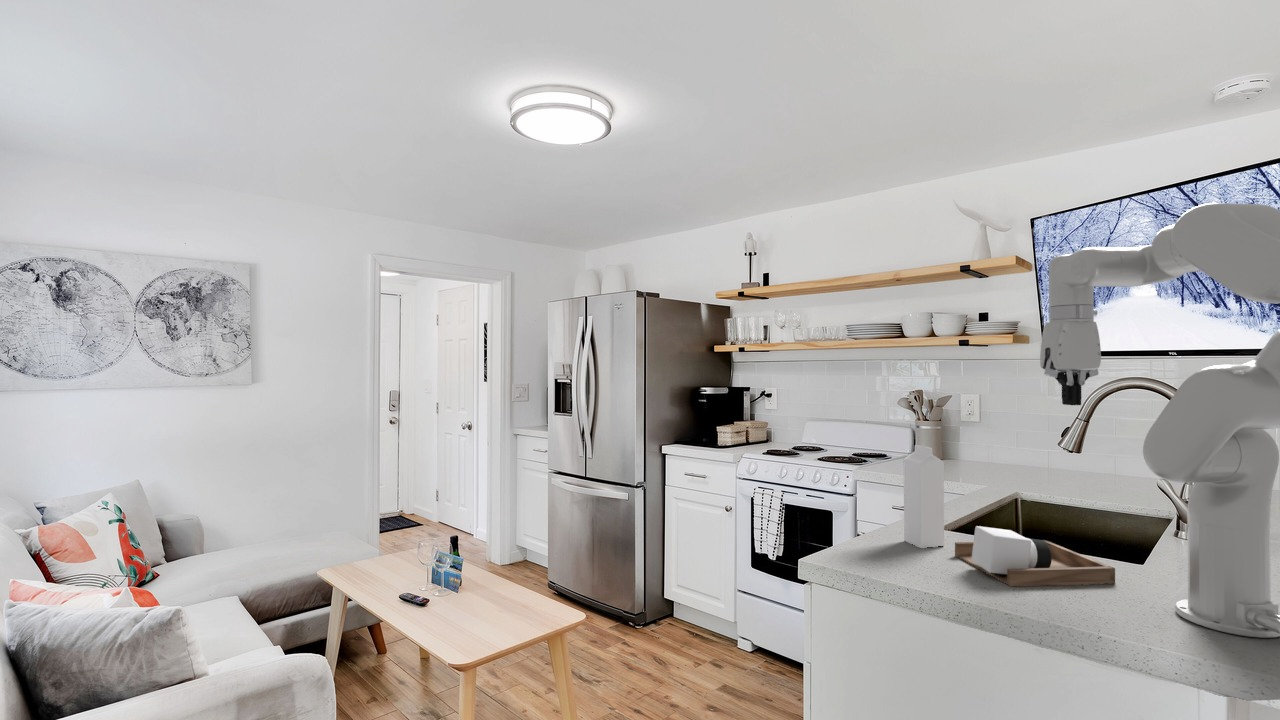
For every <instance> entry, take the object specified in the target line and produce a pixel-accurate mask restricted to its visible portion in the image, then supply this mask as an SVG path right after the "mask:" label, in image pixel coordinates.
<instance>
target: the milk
mask: <svg viewBox="0 0 1280 720" xmlns="http://www.w3.org/2000/svg"><path fill="white" fill-rule="evenodd" d="M944 465H945V462H944V460H942V459H940V458H939V457H937V456H935V455H933V448H932V447H929V446H925V445H920V444H915V445H914V451H913V452H912V453H910V454H909V455H907V456H905V457H904V458H903V541H904V542H905V541H906V543H907V544H910V545H912V544H913V546H914V545H915V547H917V548H919V549H928V548H927V547H933V548H939V547H938V546H944V547H945V469H944V468H945V466H944Z"/></svg>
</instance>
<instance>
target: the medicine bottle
mask: <svg viewBox="0 0 1280 720" xmlns="http://www.w3.org/2000/svg"><path fill="white" fill-rule="evenodd" d="M973 536H974V537H973V542H974V543H973V551H972V559H971V560H972V561H973V562H974V563H976V564H977V565H979V566H980V567H982V568H983V569H985V570H986V571H988V572H989V573H995V574H1003V575H1007V569H1028V568H1049V567H1050V565H1051V561H1052V555H1051V550H1050V548H1049V546H1048V545H1047V544H1046V543H1045V542H1044V541H1043V540H1044V539H1035V538H1029V537H1025V536H1023V535H1021V534H1019V533H1017V532H1016V531H1013V530H1012V529H1003V528H996V527H988V526H981V525H979V526H978V525H976V526H975V528H974V534H973Z"/></svg>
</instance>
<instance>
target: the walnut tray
mask: <svg viewBox="0 0 1280 720" xmlns="http://www.w3.org/2000/svg"><path fill="white" fill-rule="evenodd" d="M1042 540H1043V541H1044V542H1045V543H1046V544H1047V545H1048V546H1049V548H1050V550H1051V555H1052V561H1051V565H1050V567H1049V568H1028V569H1007V575H1003V574H995V573H989V572H988V571H986V570H985V569H983V568H982V567H980V566H979V565H977V564H976V563H974V562H973V561H972V560H971V559H972V551H973V543H974V541H960V542H959V541H958V542H956V541H955V542H954V557H956V556H957V557H956V558H958V557H959V558H961V559H963V560H964V561H963V560H962V561H963V562H965V561H966V562H965V563H967V562H968V563H967V564H969V563H970V564H972V565H974V566H975V567H974V566H973V567H974V568H976V567H977V568H976V569H978V570H979V569H980V571H981V570H982V571H981V572H983V571H984V573H985V572H986V573H985V574H987V573H988V574H990V575H992V576H993V578H994V577H995V578H994V579H996V578H997V579H996V580H998V579H999V580H1001V581H1002V582H1001V581H1000V582H1001V583H1003V582H1004V583H1003V584H1005V583H1006V584H1005V585H1007V584H1008V585H1010V586H1021V587H1039V586H1038V585H1057V586H1082V585H1081V584H1083V586H1085V585H1086V586H1087V585H1089V586H1090V584H1094V585H1101V584H1100V583H1109V584H1108V585H1111V584H1110V583H1115V584H1116V567H1113V566H1111V565H1108V564H1106V563H1103V562H1101V561H1099V560H1096V559H1094V558H1091V557H1089V556H1086V555H1083V554H1081V553H1078V552H1076V551H1073V550H1071V549H1069V548H1065V547H1064V546H1061V545H1059V544H1056V543H1054V542H1052V541H1049V540H1046V539H1042ZM959 558H958V559H959ZM961 559H960V560H961ZM970 564H969V565H970ZM972 565H971V566H972ZM988 574H987V575H988ZM990 575H989V576H990ZM992 576H991V577H992ZM999 580H998V581H999ZM1008 585H1007V586H1008ZM1010 586H1009V587H1010Z"/></svg>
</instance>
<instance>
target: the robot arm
mask: <svg viewBox="0 0 1280 720" xmlns="http://www.w3.org/2000/svg"><path fill="white" fill-rule="evenodd" d="M1199 271H1200V272H1202V273H1203V274H1205V275H1207V276H1208V277H1210V278H1211V279H1213V280H1214V281H1216V282H1217V283H1219V284H1220V285H1222V286H1224V288H1226V289H1228V290H1229V291H1231V292H1232V293H1233V294H1236V295H1238V296H1240V297H1241V298H1244V299H1247V300H1249V301H1253V302H1257V303H1263V304H1280V210H1279V209H1278V208H1275V207H1273V206H1269V205H1266V204H1258V203H1235V202H1233V203H1232V202H1225V203H1224V202H1212V203H1211V202H1209V203H1204V204H1200V205H1198V206H1195V207H1192V208H1190V209H1188V210H1187V211H1186V212H1184V213H1183V214H1182V215H1180V217H1179V218H1178V219H1177V220H1176V222H1175V223H1174V224H1172V225H1168V226H1165V227H1164V228H1162V229H1160V231H1158V232H1157V233H1156V235H1154V237H1153V240H1152V243H1151V244H1149V245H1145V246H1139V247H1122V246H1121V247H1114V246H1113V247H1110V246H1108V247H1107V246H1106V247H1104V246H1097V247H1096V246H1095V247H1094V246H1092V247H1085V248H1082V249H1079V250H1077V251H1075V252H1072V253H1069V254H1062V255H1058V256H1055V257H1053V258H1052V259H1050V261H1049V263H1048V307H1049V308H1048V310H1049V311H1048V315H1049V317H1048V318H1049V319H1048V320H1049V321H1048V322H1045V324H1044V326H1043V331H1042V336H1041V342H1040V344H1041V345H1040V355H1039V359H1040V360H1039V363H1040V367H1041V369H1042V370H1044V375H1045V376H1047V377H1051V378H1054V379H1055V380H1056V381H1057V382H1058V385H1060V386H1061V400H1062V402H1061V403H1062V405H1064V406H1081V405H1082V387H1083V386H1084V385H1085V384H1086V381H1087V380H1088V379H1089V378H1092V377H1096V376H1098V375H1099V370H1098V369H1099V368H1100V367H1101V362H1102V361H1101V360H1102V354H1101V353H1102V352H1101V350H1102V349H1101V339H1100V332H1099V329H1098V325H1097V321H1094V320H1095V319H1094V317H1096V316H1098V310H1097V309H1094V308H1095V307H1094V295H1095V294H1094V287H1099V288H1100V287H1111V288H1113V287H1118V288H1119V287H1121V288H1130V287H1132V288H1133V287H1141V286H1148V285H1151V284H1152V285H1153V284H1158V283H1163V282H1168V281H1173V280H1176V279H1177V278H1180V277H1182V276H1184V275H1185V274H1191V273H1194V272H1199ZM1270 429H1271V430H1273V429H1280V328H1279V329H1277V331H1276V332H1275V333H1273V335H1272V336H1271V337H1270V338H1269V339H1268V341H1267V343H1266V344H1265V346H1264V347H1263V348H1262V349H1261V350H1260V351H1259V353H1257V355H1256V356H1255V357H1254V358H1253V359H1251V360H1250V361H1248V362H1246V363H1242V364H1218V365H1212V366H1208V367H1205V368H1201V369H1200V370H1198V371H1196V372H1194V373H1193V374H1192V375H1190V376H1188V377H1187V378H1186V379H1185V380H1184V381H1183V382H1182V383H1181V385H1180V386H1179V387H1178V388H1177V390H1176V391H1175V393H1174V394H1173V395H1172V397H1171V398H1170V400H1169V401H1168V403H1166V405H1165V407H1164V408H1163V410H1162V411H1161V413H1159V415H1158V417H1157V418H1156V420H1155V421H1154V423H1153V424H1152V425H1151V427H1150V428H1149V430H1148V432H1147V433H1146V436H1145V439H1144V441H1143V446H1142V453H1143V455H1142V456H1143V459H1144V462H1145V464H1146V466H1147V468H1148V469H1149V470H1150V471H1151V473H1152V474H1154V475H1156V476H1158V478H1161V479H1162V480H1163V479H1164V480H1166V481H1169V482H1174V483H1181V484H1183V483H1185V484H1193V487H1192V488H1191V491H1190V493H1189V497H1188V502H1187V599H1186V598H1185V599H1180V600H1179V601H1176V602H1175V607H1174V608H1175V612H1176V613H1177V614H1178V616H1180V617H1182V618H1183V619H1184V620H1187V621H1189V622H1192V623H1193V624H1196V625H1199V626H1200V627H1201V626H1202V627H1205V628H1207V629H1211V630H1215V631H1219V632H1223V633H1227V634H1232V635H1236V636H1242V637H1243V636H1244V637H1249V638H1250V637H1251V638H1261V639H1263V638H1264V639H1265V638H1268V639H1270V638H1278V637H1280V614H1279V603H1276V602H1273V601H1272V600H1271V598H1272V597H1271V596H1272V595H1271V594H1272V593H1271V591H1272V590H1271V588H1272V587H1271V585H1272V584H1271V582H1272V581H1271V578H1272V577H1271V575H1272V574H1271V528H1272V527H1271V517H1272V516H1271V514H1272V513H1271V510H1272V509H1271V506H1272V495H1273V487H1274V483H1275V480H1276V477H1277V473H1278V468H1279V464H1280V453H1279V451H1280V450H1279V448H1278V445H1277V443H1276V441H1275V439H1274V438H1273V437H1272V435H1271V434H1270V433H1269V432H1267V431H1266V430H1270Z"/></svg>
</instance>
